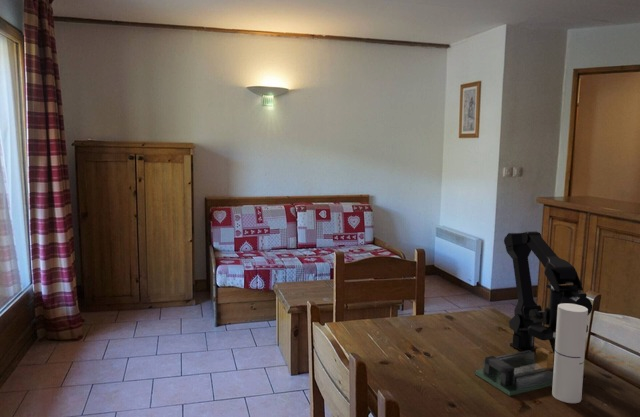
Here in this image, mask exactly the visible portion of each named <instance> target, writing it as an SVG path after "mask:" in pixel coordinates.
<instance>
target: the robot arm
mask: <svg viewBox="0 0 640 417" xmlns="http://www.w3.org/2000/svg"><path fill="white" fill-rule="evenodd" d="M503 244H504V246H505V250H506V253H507V254H508V255H509V257H510V258H511V259H512V265H513V270H514V271H513V272H514V280H515V287H516V294H517V296H516V297H517V304H516V305H515V308H514V312H513V313H514V316H513V317H512V318H511V319H510V320H509V321H508V325H509V328H510V329H511V330H512V331H513V333H512V342H511V343H509V345H510V346H512V347H513V348H515V349H517V350H520V352H523V351H528V350H530V351H534V350H535V351H536V349H537V348H539V347H538V346H535V339H538V340H541V341H549V344H550V346H551V350H552V352H553V353H554V355H555V340H556V325H557V310H558V305H559V304H562V303H569V304H577V305H581V306H584V307H586V308H587V309H588V316H589V315H590V314H591V313H592V311H593V303H592V301H591V300H590V299H589V298H587V293H585V292H583V291H584V287H583V283H582V281H581V280H580V277H579V275H578V271H577V270H576V268H575V267H574V265H573V264H571V263H570V262H569V261H567V260H565V259H563V258H560V257H559V256H558V255H557V253H555V252H554V249H552V248H551V247H550V246H549V244H548V243H547V242H546V240H545V239H544V238H543V237H542V234H541V232H539V231H537V230H536V231H525V232H508V233H506V236H504V239H503ZM531 252H532V253H533V254H534V256H535V257H536V258H537V260H539V262H540V263H541V264H542V266H543V268H544V275H545V277H546V279H547V280H548V282H549V283H547V284H546V286H545V287H546V288H547V289H549V302H548V303H549V305H548V307H545V309H544V310H543V309H542V308H543V307H542V306H541V305H540V304H539V305H538V304H537V302H536V301H535V298H534V291H533V284H532V279H531V278H532V277H531V271H530V270H531V268H530V263H529V256H530V255H531ZM546 325H547V326H546ZM588 332H589V326H588V324H587V329H586V333H588Z"/></svg>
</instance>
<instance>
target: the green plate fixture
mask: <svg viewBox="0 0 640 417" xmlns="http://www.w3.org/2000/svg"><path fill="white" fill-rule="evenodd" d="M535 356H536V352H534V351H532V350H528V351H518V352H513V353H509V354H503V355H500V356H494V355H492V356H486V357H484V359H483V367H482V368H480V369H475V371H474V374H475V375H476V376H477V377H479V378H480V379H483V380H484V381H485V382H487V383H489V384H490V385H492V386H493V387H495V388H496V389H498V390H500V391H501V392H502V393H504V394H506V395H507V396H515V395H520V394H524V393H528V392H532V391H536V390H540V389H544V388H548V387H552V386H553V371H554V366H553V367H551V368H546V369H542V370H537V371H533V372H528V373H524V374H519V375H515V376H514V368H518V367H522V366H527V365H532V364H536V363H535Z"/></svg>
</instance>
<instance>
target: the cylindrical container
mask: <svg viewBox="0 0 640 417" xmlns="http://www.w3.org/2000/svg"><path fill="white" fill-rule="evenodd" d="M588 316H589V315H588V309H587V308H586V307H584V306H581V305H577V304H569V303H562V304H559V305H558V310H557V325H556V340H555V355H554V358H553V367H554V371H553V386H551V387H552V390H551V395H552V396H553V397H554V398H555V399H556V400H558V401H560V402H563V403H568V404H577V403H581V401H582V398H583V397H582V396H583V395H582V393H583V385H584V384H583V382H584V381H583V380H584V369H585V353H586V340H587V332H586V329H587V325H588Z"/></svg>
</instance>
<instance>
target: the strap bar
mask: <svg viewBox="0 0 640 417" xmlns="http://www.w3.org/2000/svg"><path fill="white" fill-rule="evenodd" d="M534 360H535V363H536V364H532V365H527V366H522V367H518V368H514V376H515V375H519V374H524V373H528V372H533V371H537V370H542V369H546V368H551V367H554V353H553V351H551V350H548V349H545V348H544V347H538V348H537V349H535V356H534Z"/></svg>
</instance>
